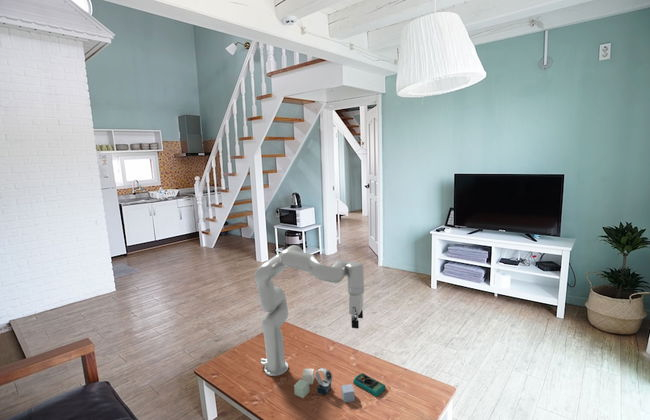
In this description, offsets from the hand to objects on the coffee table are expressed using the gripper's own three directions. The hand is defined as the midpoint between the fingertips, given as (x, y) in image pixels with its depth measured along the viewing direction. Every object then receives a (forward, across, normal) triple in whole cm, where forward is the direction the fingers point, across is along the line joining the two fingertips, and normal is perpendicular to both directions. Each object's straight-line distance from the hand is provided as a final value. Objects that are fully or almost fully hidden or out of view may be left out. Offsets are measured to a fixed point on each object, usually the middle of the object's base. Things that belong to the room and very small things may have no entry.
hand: (357, 322), depth 162 cm
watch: (+31, +10, -15) cm, 36 cm away
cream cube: (+31, +5, -25) cm, 40 cm away
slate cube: (+31, +12, -3) cm, 34 cm away
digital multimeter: (+32, +2, +5) cm, 32 cm away
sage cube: (+31, +14, -25) cm, 42 cm away
